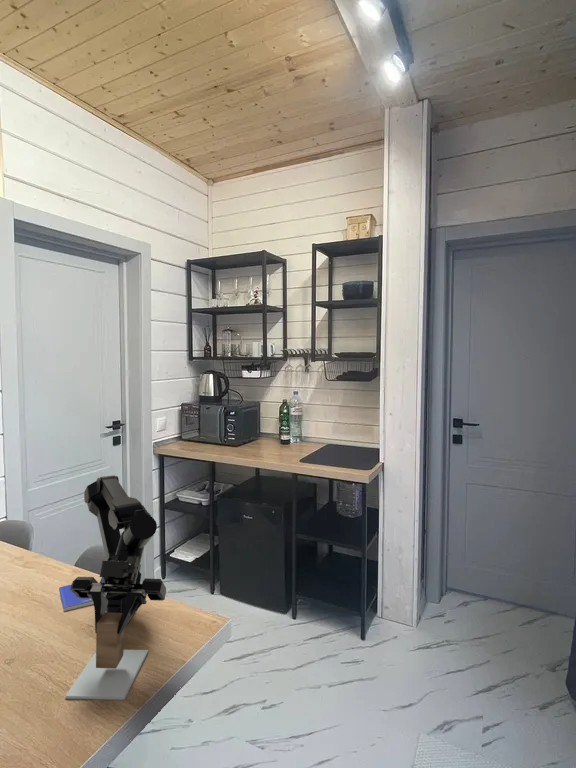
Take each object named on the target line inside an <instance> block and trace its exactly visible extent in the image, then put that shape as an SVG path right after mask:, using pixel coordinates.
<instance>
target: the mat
mask: <svg viewBox="0 0 576 768" xmlns="http://www.w3.org/2000/svg"><path fill="white" fill-rule="evenodd" d="M148 653H149V650H148V649H124V655H123V657H122V659H121V661H120V662H119V664H118V666H117V668H96V651H95V652H94V653H93V655H92V656H91V658H90V659H89V661H88V663H87V664H86V666H85V667H84V668H83V670H82V671H81V673H80V674H79V675H78V676H77V678H76V679H75V682H74V683H73V684H72V686H71V687H70V689H69V690H68V691H67V693H66V694H65V699H70V700H72V699H73V700H109V701H110V700H115V701H117V700H118V701H125V699H126V697H127V695H128V693H129V691H130V689H131V687H132V685H133V683H134V681H135V679H136V677H137V675H138V673H139V672H140V669H141V667H142V665H143V662H144V661H145V659H146V658H147V655H148Z"/></svg>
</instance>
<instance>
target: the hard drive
mask: <svg viewBox="0 0 576 768" xmlns="http://www.w3.org/2000/svg"><path fill="white" fill-rule="evenodd" d="M71 585H72V584H68V585H62V586H59V588H58V591H59V592H60V593H59V592H58V593H59V597H60V601H61V606H62V611H63V612H67V611H71V610H74V609H79V608H84V607H87V606H92V605H94V603H93V601H92V600H91V599H83V598H78V597H77V596H76V595H75V594H74V593H73V592H72V591H71V590H70V588H71Z"/></svg>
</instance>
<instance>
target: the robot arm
mask: <svg viewBox="0 0 576 768" xmlns="http://www.w3.org/2000/svg"><path fill="white" fill-rule="evenodd" d="M83 496H84V498H83V499H84V503H85V504H87V505H86V506H87V508H88V511H89V512H90V513H91V514H93V515H94V516H95V517H96V519H97V523H98V528H99V533H100V537H101V541H102V546H103V551H104V555H105V559H106V560H102V561H101V566H100V572H99V578H100V580H99V582H98V581H97V579H96V578H95V577H94V576H77V577H76V578H74V579H73V581H72V583H71V584H70V585H71V588H70V590H71V591H72V592H73V593H74V594H75V595H76V596H77V597H78V598H83V599H91V600H92V601H93V603H94V604H93V609H94V631H95V634H96V629H97V622H98V621H99V620H100V618H101V617H102V616H103V614H104V613H105V612H106V613H122V616H121V619H120V622H119V626H118V631H117V633H118V634H121V633H122V631H123V629H124V630H125V628H126V626H127V625H128V624H129V622H130V621H131V619H132V617H133V616H134V615H135V613H136V612H137V611H138V610H139V609H140V608H141V606H142V605H146V604H147V601H148V600H147V597H148V599H149V600H150V601H161V602H162V601H165V599H166V594H167V588H166V585H165V584H164V582H163V580H162V579H161V578H146V577H145V578H144V579H143V581H142V583H141V579H142V573H141V572H140V570H141V568H142V567H141V566H142V564H141V562H142V557H143V553H144V550H145V547H146V546H147V544H148V543H149V542H150V540H151V539H152V538H153V536H155V534H156V531H157V528H158V526H157V525H158V524H157V523H158V522H157V521H156V520H155V519H154V517H153V516H152V515H151V514H150V513H149V511H147V509H146V507H145V505H143V504H142V502H141V501H139V500H138V499H137V498H135V497H131V496H129V495H128V494H127V492H126V490H125V489H124V487H123V486H122V485H121V483H120V480H119V477H118V476H117V475H114V474H112V475H107V476H105V475H104V476H100V477H97V479H96V481H94V482H92V483H90V484H88V485H87V486H86V487H85V490H84V492H83ZM120 530H123V532H121V531H120Z"/></svg>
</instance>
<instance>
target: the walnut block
mask: <svg viewBox="0 0 576 768" xmlns="http://www.w3.org/2000/svg"><path fill="white" fill-rule="evenodd" d="M121 616H122V613H106V612H105V613H104V614H103V616H102V617H101V618H100V620H99V621H98V622H97V629H96V633H95V634H96V637H95V639H96V641H95V642H96V643H95V644H96V645H95V646H96V647H95V652H96V668H117V666H118V664H119V662H120V661H121V659H122V657H123V655H124V650H125V649H124V645H125V643H124V642H125V628H124V629H123V631H122V633H121V634H118V633H117V631H118V626H119V622H120V619H121Z"/></svg>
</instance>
